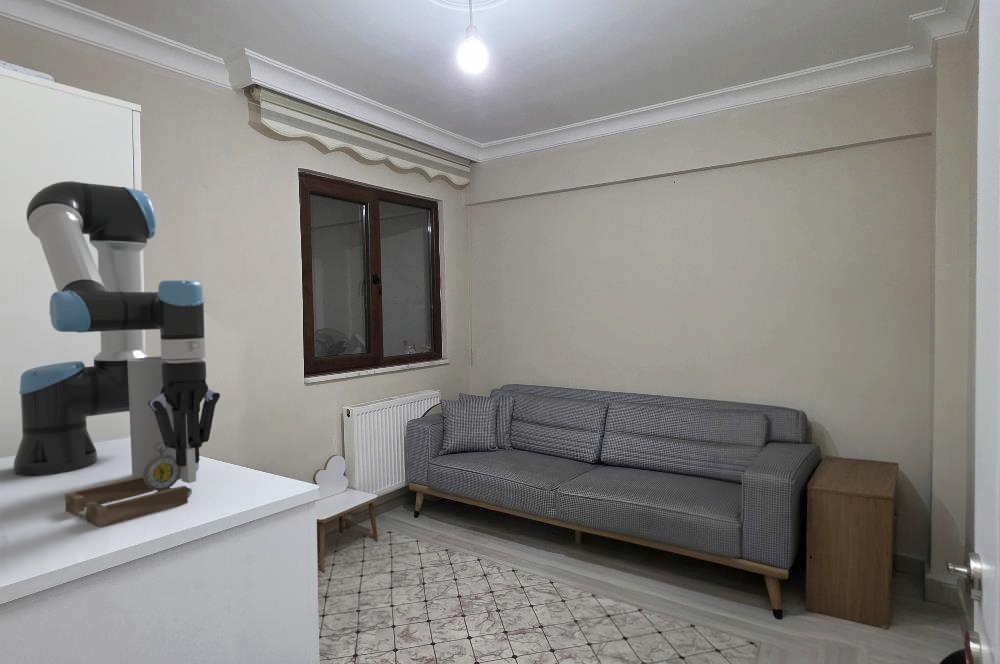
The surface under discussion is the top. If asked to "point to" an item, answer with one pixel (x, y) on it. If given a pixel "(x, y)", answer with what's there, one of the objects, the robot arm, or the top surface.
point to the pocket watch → (162, 472)
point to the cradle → (123, 509)
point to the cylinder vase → (146, 413)
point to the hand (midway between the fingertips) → (188, 480)
